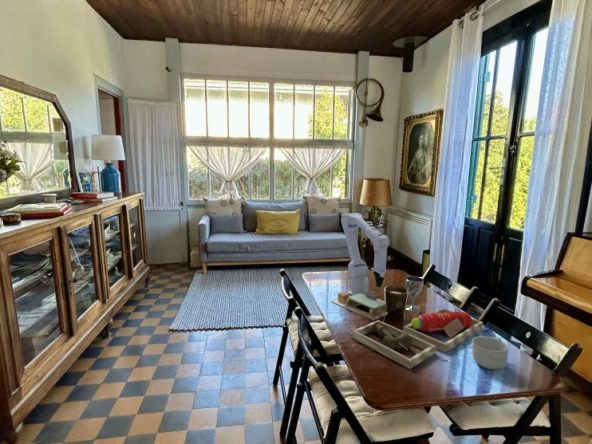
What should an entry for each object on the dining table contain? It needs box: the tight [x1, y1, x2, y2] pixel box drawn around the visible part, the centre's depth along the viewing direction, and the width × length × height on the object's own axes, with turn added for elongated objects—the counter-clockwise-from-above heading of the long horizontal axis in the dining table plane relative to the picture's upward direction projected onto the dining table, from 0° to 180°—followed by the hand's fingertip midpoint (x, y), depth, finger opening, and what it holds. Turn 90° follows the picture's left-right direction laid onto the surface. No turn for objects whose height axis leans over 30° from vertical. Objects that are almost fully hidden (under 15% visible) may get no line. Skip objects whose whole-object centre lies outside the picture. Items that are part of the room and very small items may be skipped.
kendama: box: [371, 321, 413, 351], centre depth 128 cm, size 6×10×20 cm
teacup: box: [471, 335, 509, 370], centre depth 115 cm, size 14×11×8 cm
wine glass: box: [404, 275, 424, 312], centre depth 160 cm, size 8×8×15 cm
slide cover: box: [348, 293, 386, 309], centre depth 157 cm, size 8×16×3 cm, turn 38°
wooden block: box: [337, 291, 350, 303], centre depth 167 cm, size 4×4×4 cm
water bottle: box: [411, 310, 473, 339], centre depth 137 cm, size 12×8×25 cm
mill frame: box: [352, 319, 436, 370], centre depth 126 cm, size 16×26×3 cm, turn 38°
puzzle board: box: [343, 290, 389, 321], centre depth 160 cm, size 20×18×4 cm
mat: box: [330, 298, 345, 308], centre depth 167 cm, size 10×8×1 cm
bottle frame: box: [402, 307, 484, 353], centre depth 138 cm, size 31×18×3 cm, turn 128°
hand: (378, 286), depth 163 cm, fingers closed
